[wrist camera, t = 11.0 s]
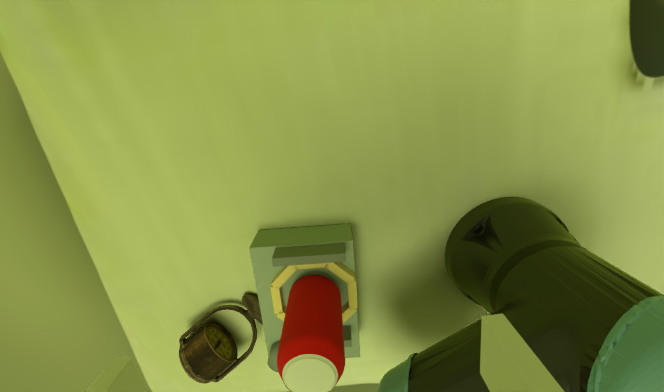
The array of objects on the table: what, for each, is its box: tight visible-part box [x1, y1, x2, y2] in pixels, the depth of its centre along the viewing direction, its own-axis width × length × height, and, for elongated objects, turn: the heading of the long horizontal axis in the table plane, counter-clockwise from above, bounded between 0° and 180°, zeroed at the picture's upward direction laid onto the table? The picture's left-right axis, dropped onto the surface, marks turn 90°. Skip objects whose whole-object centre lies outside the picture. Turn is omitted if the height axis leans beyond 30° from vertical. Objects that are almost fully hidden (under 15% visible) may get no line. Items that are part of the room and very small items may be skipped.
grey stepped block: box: [250, 223, 360, 372], centre depth 39 cm, size 12×17×8 cm
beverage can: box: [277, 274, 345, 392], centre depth 32 cm, size 6×6×12 cm
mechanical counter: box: [179, 294, 263, 383], centre depth 42 cm, size 7×13×10 cm
